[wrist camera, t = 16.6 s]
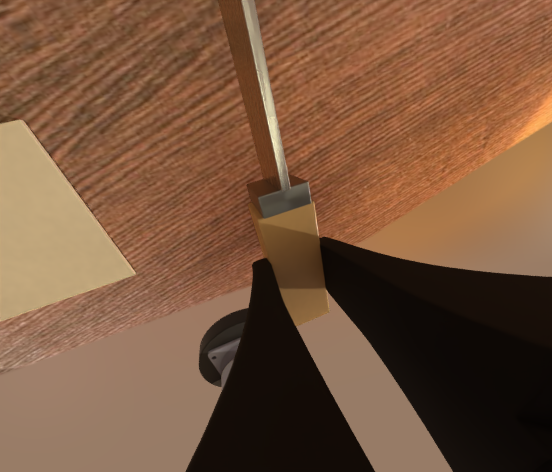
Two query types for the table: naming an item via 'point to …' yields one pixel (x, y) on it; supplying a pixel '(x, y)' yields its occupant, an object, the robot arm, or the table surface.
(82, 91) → the table surface
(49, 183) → the cake board
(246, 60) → the knife
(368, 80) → the table surface
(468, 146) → the table surface
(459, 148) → the table surface
